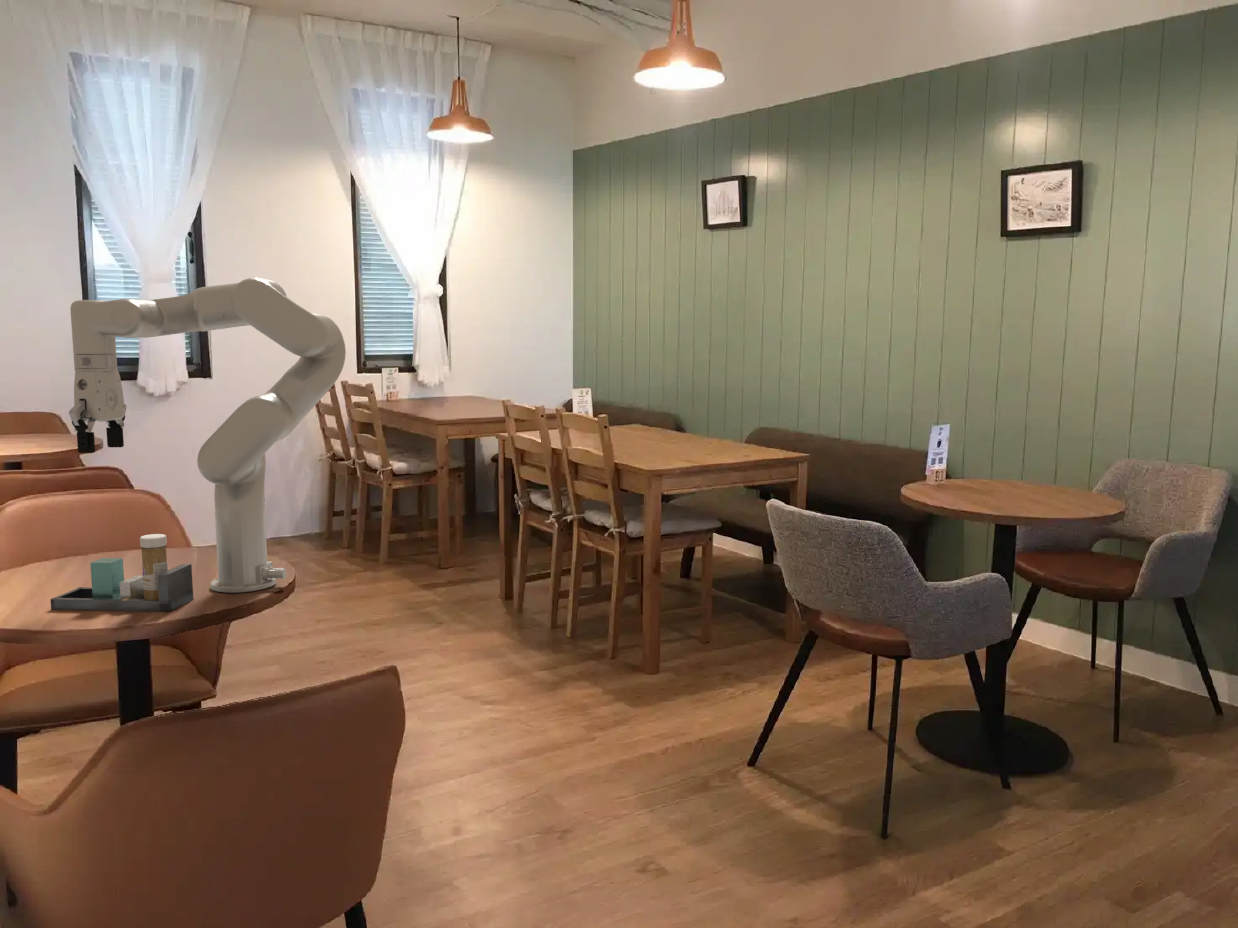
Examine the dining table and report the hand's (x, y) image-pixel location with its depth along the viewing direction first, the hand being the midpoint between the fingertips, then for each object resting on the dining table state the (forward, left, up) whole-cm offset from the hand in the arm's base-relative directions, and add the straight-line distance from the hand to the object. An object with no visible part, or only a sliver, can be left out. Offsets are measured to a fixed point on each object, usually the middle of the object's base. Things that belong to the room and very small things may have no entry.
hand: (101, 449), depth 200 cm
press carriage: (-9, +11, -28) cm, 32 cm away
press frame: (-10, +11, -28) cm, 32 cm away
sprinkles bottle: (-16, +11, -28) cm, 35 cm away
